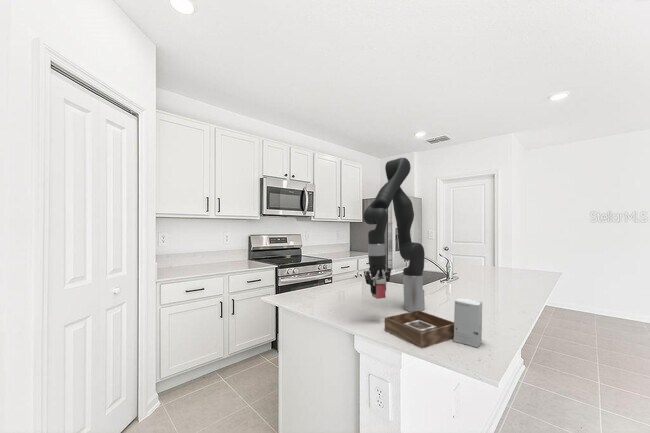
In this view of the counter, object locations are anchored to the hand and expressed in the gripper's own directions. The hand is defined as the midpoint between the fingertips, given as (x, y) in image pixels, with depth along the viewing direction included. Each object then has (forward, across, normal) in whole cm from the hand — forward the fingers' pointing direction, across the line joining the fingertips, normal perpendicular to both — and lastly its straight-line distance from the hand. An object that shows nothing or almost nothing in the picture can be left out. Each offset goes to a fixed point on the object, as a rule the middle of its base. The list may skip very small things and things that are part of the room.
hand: (378, 292), depth 123 cm
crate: (+13, -5, +18) cm, 23 cm away
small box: (+2, 0, 0) cm, 2 cm away
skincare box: (+13, -14, +32) cm, 38 cm away
